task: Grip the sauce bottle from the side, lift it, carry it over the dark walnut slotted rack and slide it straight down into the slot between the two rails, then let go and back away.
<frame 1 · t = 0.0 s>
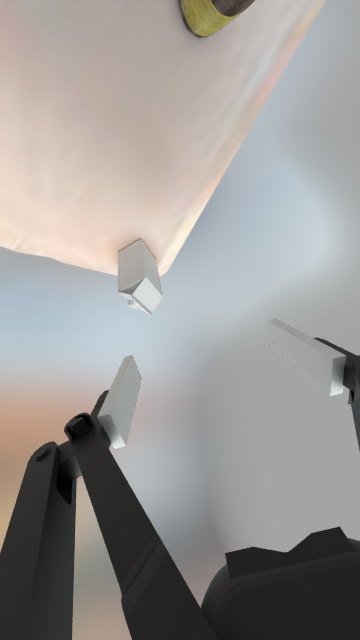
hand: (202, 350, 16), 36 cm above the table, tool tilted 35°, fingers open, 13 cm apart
milk carton: (137, 255, 46), on the table
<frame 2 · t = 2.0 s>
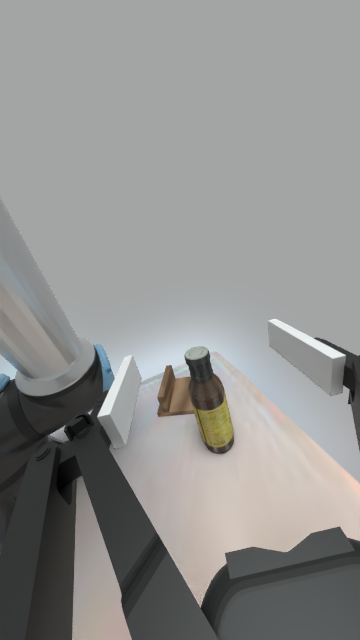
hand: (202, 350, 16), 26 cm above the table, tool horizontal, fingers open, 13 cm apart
walnut slotted rack: (187, 394, 46), on the table
sauce bottle: (218, 438, 34), on the table
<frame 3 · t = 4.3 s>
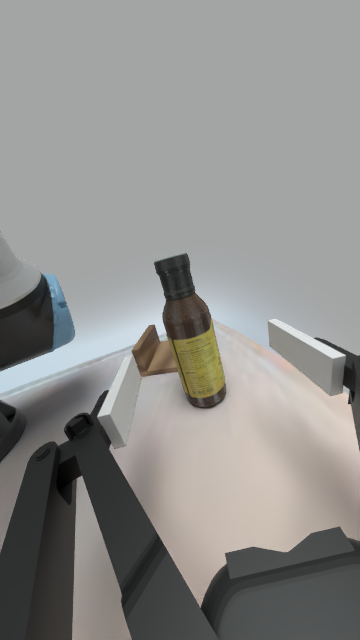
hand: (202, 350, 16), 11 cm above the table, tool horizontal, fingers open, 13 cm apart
walnut slotted rack: (172, 355, 38), on the table
sauce bottle: (205, 393, 26), on the table
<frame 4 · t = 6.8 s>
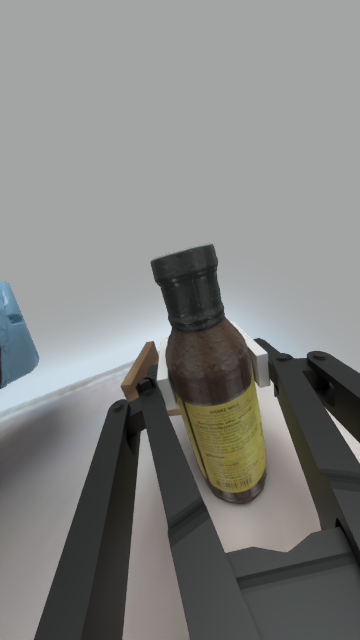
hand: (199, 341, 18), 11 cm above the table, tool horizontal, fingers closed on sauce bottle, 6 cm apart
walnut slotted rack: (176, 384, 29), on the table
sauce bottle: (231, 464, 17), on the table, touching gripper
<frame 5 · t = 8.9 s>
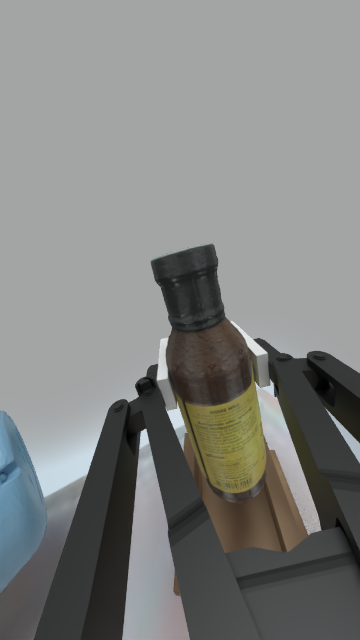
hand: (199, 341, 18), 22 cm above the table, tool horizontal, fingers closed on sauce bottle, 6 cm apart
walnut slotted rack: (235, 510, 21), on the table
sauce bottle: (231, 464, 17), point 11 cm above the table, touching gripper
when the fingers open (13 cm above the table, at t = 11.4 s): sauce bottle drops 1 cm, resting on walnut slotted rack.
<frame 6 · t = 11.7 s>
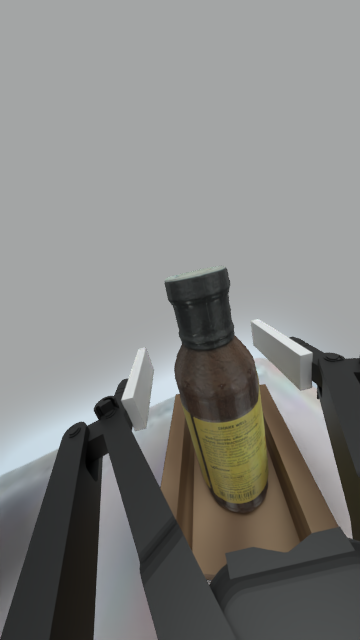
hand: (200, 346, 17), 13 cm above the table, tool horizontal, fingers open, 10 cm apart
walnut slotted rack: (234, 478, 17), on the table
sauce bottle: (233, 473, 17), point 1 cm above the table, touching walnut slotted rack
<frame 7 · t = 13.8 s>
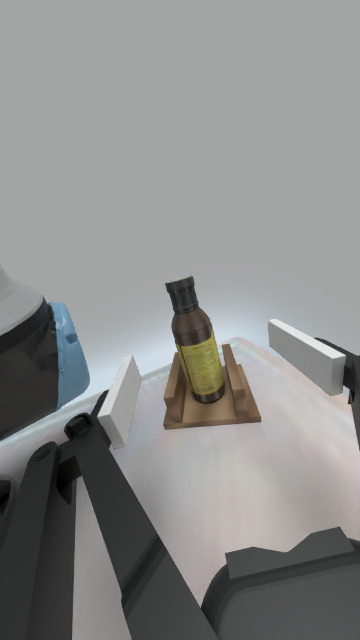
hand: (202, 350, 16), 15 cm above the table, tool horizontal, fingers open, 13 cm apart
walnut slotted rack: (208, 394, 30), on the table
sauce bottle: (208, 391, 30), point 1 cm above the table, touching walnut slotted rack
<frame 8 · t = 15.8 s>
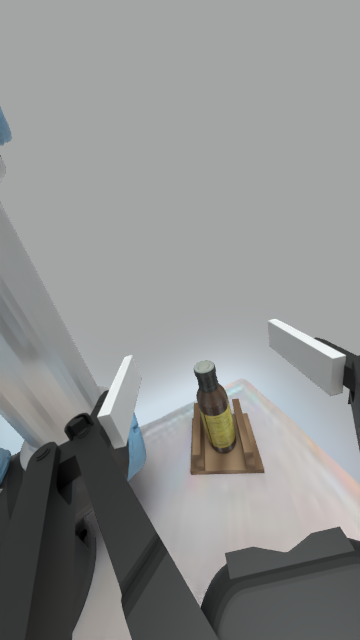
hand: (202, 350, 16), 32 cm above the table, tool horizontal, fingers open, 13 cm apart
walnut slotted rack: (222, 442, 39), on the table
sauce bottle: (222, 439, 38), point 1 cm above the table, touching walnut slotted rack
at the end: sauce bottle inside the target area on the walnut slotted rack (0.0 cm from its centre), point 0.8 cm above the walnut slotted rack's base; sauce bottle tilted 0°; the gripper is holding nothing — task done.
